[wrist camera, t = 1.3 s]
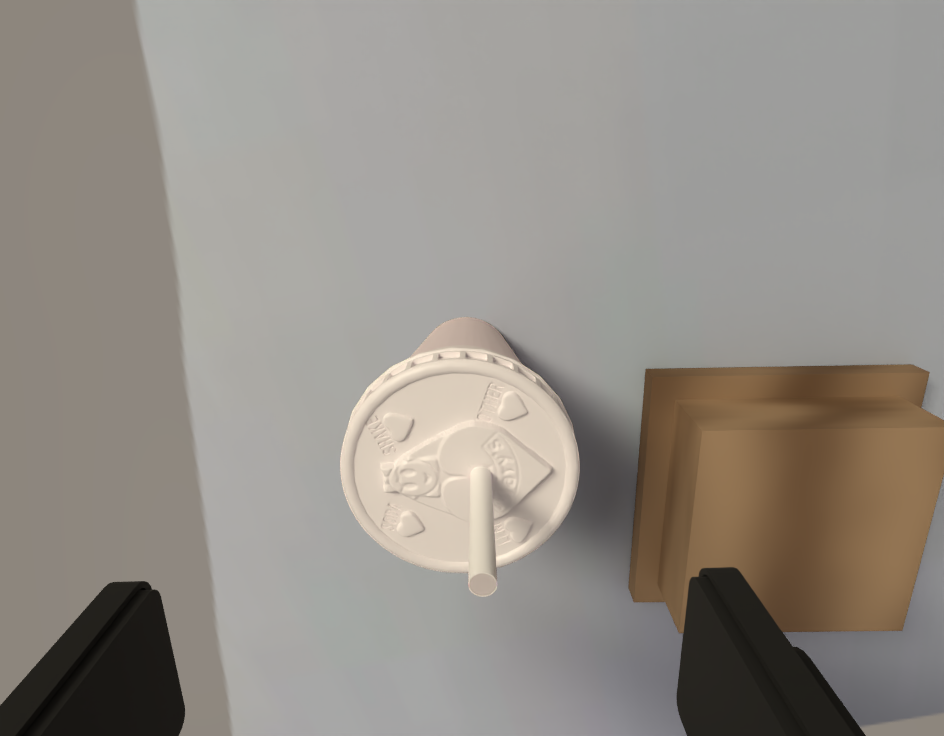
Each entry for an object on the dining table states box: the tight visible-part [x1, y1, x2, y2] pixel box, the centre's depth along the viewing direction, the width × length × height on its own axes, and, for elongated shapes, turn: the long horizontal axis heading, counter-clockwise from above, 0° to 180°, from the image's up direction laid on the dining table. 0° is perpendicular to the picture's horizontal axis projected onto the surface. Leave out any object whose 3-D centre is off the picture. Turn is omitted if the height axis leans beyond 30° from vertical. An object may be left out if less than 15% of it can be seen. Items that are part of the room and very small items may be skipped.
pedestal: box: [629, 365, 944, 633], centre depth 24 cm, size 11×11×4 cm
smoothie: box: [340, 317, 580, 597], centre depth 18 cm, size 6×6×14 cm
